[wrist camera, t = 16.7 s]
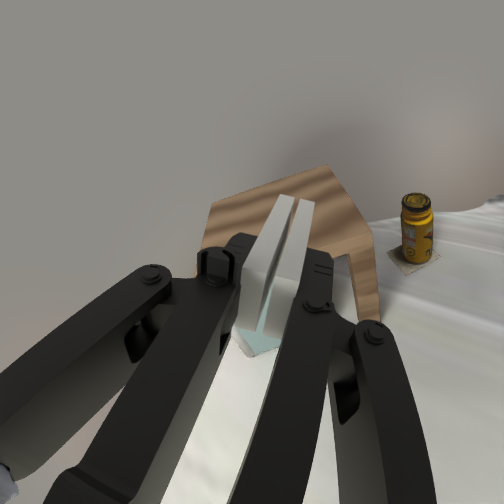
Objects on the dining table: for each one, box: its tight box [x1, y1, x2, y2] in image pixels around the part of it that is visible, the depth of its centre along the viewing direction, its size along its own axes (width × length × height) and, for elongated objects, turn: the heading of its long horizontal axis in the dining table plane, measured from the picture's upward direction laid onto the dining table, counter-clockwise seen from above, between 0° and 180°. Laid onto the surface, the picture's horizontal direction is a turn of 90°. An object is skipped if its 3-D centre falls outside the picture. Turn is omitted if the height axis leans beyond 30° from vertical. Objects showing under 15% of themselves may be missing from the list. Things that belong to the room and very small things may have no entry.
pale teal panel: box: [231, 277, 282, 358], centre depth 40 cm, size 2×15×15 cm, turn 98°
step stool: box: [194, 165, 380, 322], centre depth 46 cm, size 22×22×18 cm
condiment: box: [386, 193, 441, 275], centre depth 44 cm, size 7×8×12 cm
